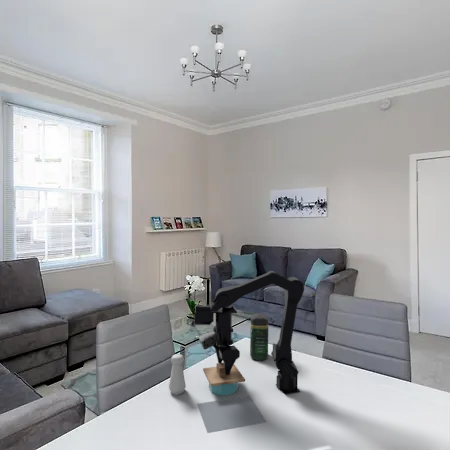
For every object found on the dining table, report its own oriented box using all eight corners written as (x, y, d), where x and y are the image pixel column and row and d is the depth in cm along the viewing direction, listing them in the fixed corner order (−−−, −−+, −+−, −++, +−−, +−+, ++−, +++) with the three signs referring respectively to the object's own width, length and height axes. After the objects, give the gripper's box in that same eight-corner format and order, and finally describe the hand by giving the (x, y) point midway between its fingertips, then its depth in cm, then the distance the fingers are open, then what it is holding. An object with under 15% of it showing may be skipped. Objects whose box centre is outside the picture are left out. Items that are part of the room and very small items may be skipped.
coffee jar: (269, 361, 139) (269, 318, 139) (250, 360, 139) (250, 317, 139) (267, 352, 149) (267, 311, 148) (249, 351, 149) (250, 311, 149)
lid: (234, 366, 123) (234, 356, 123) (245, 381, 111) (245, 370, 111) (203, 370, 119) (203, 360, 119) (210, 386, 108) (210, 374, 108)
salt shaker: (182, 398, 110) (182, 359, 109) (166, 396, 111) (166, 358, 111) (187, 389, 115) (188, 353, 115) (172, 387, 116) (172, 351, 116)
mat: (249, 397, 110) (249, 395, 110) (267, 423, 96) (267, 421, 96) (196, 405, 105) (196, 403, 105) (207, 434, 91) (207, 432, 91)
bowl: (232, 381, 121) (232, 368, 121) (240, 394, 112) (240, 380, 112) (207, 385, 119) (207, 371, 119) (213, 398, 110) (213, 384, 110)
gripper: (196, 319, 122) (195, 360, 122) (207, 335, 104) (207, 384, 104) (224, 316, 125) (224, 357, 125) (240, 332, 107) (240, 380, 107)
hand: (223, 368), depth 115 cm, fingers open, 9 cm apart
